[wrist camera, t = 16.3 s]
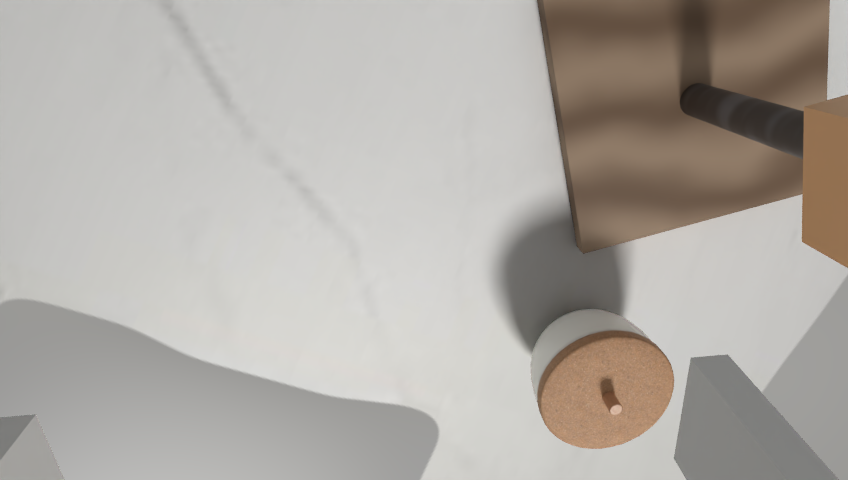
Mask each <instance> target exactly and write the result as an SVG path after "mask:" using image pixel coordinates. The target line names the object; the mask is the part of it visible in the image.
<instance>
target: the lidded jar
mask: <svg viewBox="0 0 848 480" xmlns="http://www.w3.org/2000/svg"><path fill="white" fill-rule="evenodd" d="M530 367H531V381H532V386H533V390H534V394H535V397H536V400H537V403H538V407H539V411H540V414H541V416H542V418H543V420H544V423H545V425H546V426H547V427H548V429H549V430H550V431H551V432H552V433H553V434H554V435H555V436H556V437H557V438H559V439H561V440H562V441H564V442H566V443H568V444H571V445H574V446H578V447H581V448H591V449H600V448H607V447H613V446H616V445H620V444H623V443H625V442H628V441H630V440H632V439H634V438H636V437H638V436H640V435H641V434H642V433H644V432H645V431H647V430H648V429H649V428H650V427H651V426H653V425H654V424H655V423H656V422H657V420H658V419H659V418H660V417H661V416H662V414H663V413H664V411H665V410H666V408H667V406H668V404H669V402H670V399H671V396H672V392H673V387H674V376H673V370H672V367H671V364H670V362H669V360H668V359H667V357H666V356H665V354H664V353H663V352H662V351H661V350H660V349H659V347H658V346H657V345H656V344H654V343H653V342H652V341H651V340H650V339H649V338H648V337H647V336H646V334H645V333H644V332H643V331H641V330H640V329H639V328H638V327H637V326H635V325H634V324H633V323H631V322H630V321H628V320H627V319H625V318H623V317H621V316H619V315H618V314H615V313H611V312H608V311H605V310H599V309H583V310H577V311H573V312H570V313H567V314H565V315H563V316H561V317H559V318H558V319H556V320H555V321H553V322H552V323H551V324H550V325H549V326H548V327H547V328H546V329H545V330H544V331H543V332H542V334H541V335H540V337H539V338H538V340H537V342H536V344H535V346H534V349H533V353H532V357H531V364H530Z"/></svg>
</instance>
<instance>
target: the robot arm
mask: <svg viewBox="0 0 848 480" xmlns="http://www.w3.org/2000/svg"><path fill="white" fill-rule="evenodd" d="M674 459H675V461H676V463H677V464H678V466H679V468H680V469H681V471H682V473H683V474H684V476H685V478H686V479H687V480H839V479H838V478H837V477H836V476H835V475H834V474H833V472H832V471H831V470H830V469H829V468H828V467H827V466H826V465H825V463H824V462H823V461H822V460H821V459H820V458H819V457H818V456H817V454H816V453H815V452H814V451H813V450H812V449H811V448H810V447H809V445H808V444H807V443H806V442H805V441H804V440H803V439H802V438H801V437H800V435H799V434H798V433H797V432H796V431H795V430H794V429H793V427H792V426H791V425H789V423H788V422H787V421H786V420H785V418H784V417H783V416H782V415H781V414H780V413H779V412H778V411H777V410H776V408H775V407H774V406H773V405H772V404H771V403H770V402H769V401H768V399H767V398H766V397H765V396H764V395H763V394H762V393H761V392H760V390H759V389H758V388H757V387H756V386H755V385H754V384H753V383H752V381H751V380H750V379H749V378H748V377H747V376H746V375H745V374H744V372H743V371H742V370H741V369H740V368H739V367H738V366H737V365H736V363H735V362H734V361H733V360H732V359H731V358H730V357H729V356H728V355H717V356H706V357H694V358H691V360H690V366H689V372H688V378H687V384H686V390H685V396H684V402H683V408H682V414H681V420H680V425H679V431H678V437H677V443H676V449H675V455H674ZM0 480H64V477H63V475H62V473H61V471H60V469H59V466H58V464H57V461H56V459H55V457H54V454H53V452H52V450H51V448H50V446H49V443H48V441H47V439H46V436H45V434H44V432H43V429H42V427H41V425H40V422H39V420H38V418H37V416H36V415H24V416H12V417H1V418H0Z"/></svg>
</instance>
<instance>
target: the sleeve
mask: <svg viewBox="0 0 848 480" xmlns="http://www.w3.org/2000/svg"><path fill="white" fill-rule="evenodd" d="M802 242H803V243H805V244H807V245H809V246H810V247H812V248H814V249H816V250H817V251H819V252H821V253H823V254H824V255H826V256H828V257H829V258H831V259H833V260H835V261H836V262H838V263H840V264H842V265H843V266H845V267H847V268H848V95H845V96H841V97H837V98H834V99H830V100H827V101H823V102H819V103H816V104H812V105H808V106H805V107H804V133H803V204H802Z"/></svg>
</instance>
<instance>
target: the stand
mask: <svg viewBox="0 0 848 480" xmlns="http://www.w3.org/2000/svg"><path fill="white" fill-rule="evenodd" d="M537 2H538V8H539V14H540V21H541V27H542V33H543V39H544V45H545V51H546V58H547V64H548V70H549V76H550V82H551V88H552V95H553V101H554V107H555V113H556V119H557V126H558V132H559V138H560V144H561V150H562V156H563V163H564V169H565V175H566V181H567V187H568V193H569V200H570V206H571V212H572V218H573V224H574V230H575V237H576V243H577V247H578V248H579V249H580V250H581V252H582V253H583V254H584V253H587V252H591V251H595V250H598V249H602V248H606V247H609V246H613V245H617V244H620V243H624V242H628V241H632V240H635V239H639V238H643V237H646V236H650V235H654V234H657V233H661V232H665V231H668V230H672V229H676V228H679V227H683V226H687V225H690V224H694V223H698V222H701V221H705V220H709V219H712V218H716V217H720V216H723V215H727V214H731V213H734V212H738V211H742V210H745V209H749V208H753V207H757V206H760V205H764V204H768V203H771V202H775V201H779V200H782V199H786V198H790V197H793V196H797V195H801V194H803V133H804V107H805V106H808V105H812V104H816V103H819V102H823V101H827V73H828V39H829V6H830V0H537Z"/></svg>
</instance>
